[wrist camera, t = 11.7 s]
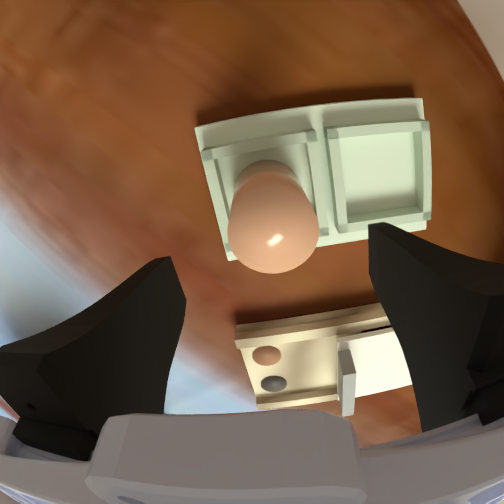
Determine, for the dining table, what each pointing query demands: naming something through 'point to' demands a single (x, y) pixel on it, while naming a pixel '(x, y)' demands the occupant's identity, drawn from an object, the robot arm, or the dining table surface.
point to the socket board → (331, 162)
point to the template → (300, 354)
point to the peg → (271, 219)
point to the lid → (369, 366)
